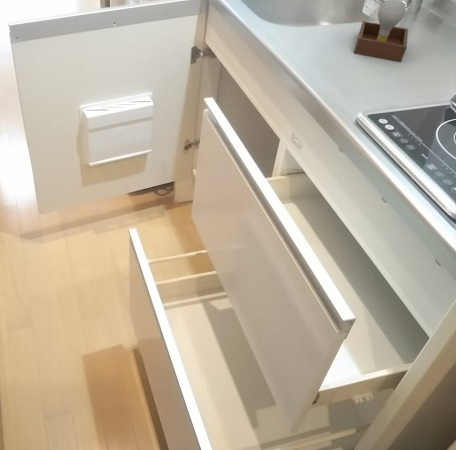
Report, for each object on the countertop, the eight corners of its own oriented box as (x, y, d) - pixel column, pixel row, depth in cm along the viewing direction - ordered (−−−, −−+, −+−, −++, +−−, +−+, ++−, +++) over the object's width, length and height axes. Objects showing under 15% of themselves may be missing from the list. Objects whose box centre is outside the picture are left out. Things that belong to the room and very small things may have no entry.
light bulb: (392, 50, 118) (408, 5, 112) (367, 46, 120) (382, 1, 113) (392, 41, 122) (408, -2, 115) (368, 37, 123) (383, -6, 117)
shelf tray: (402, 43, 124) (408, 28, 122) (400, 62, 116) (406, 47, 114) (358, 35, 127) (362, 20, 124) (353, 53, 119) (358, 38, 117)
